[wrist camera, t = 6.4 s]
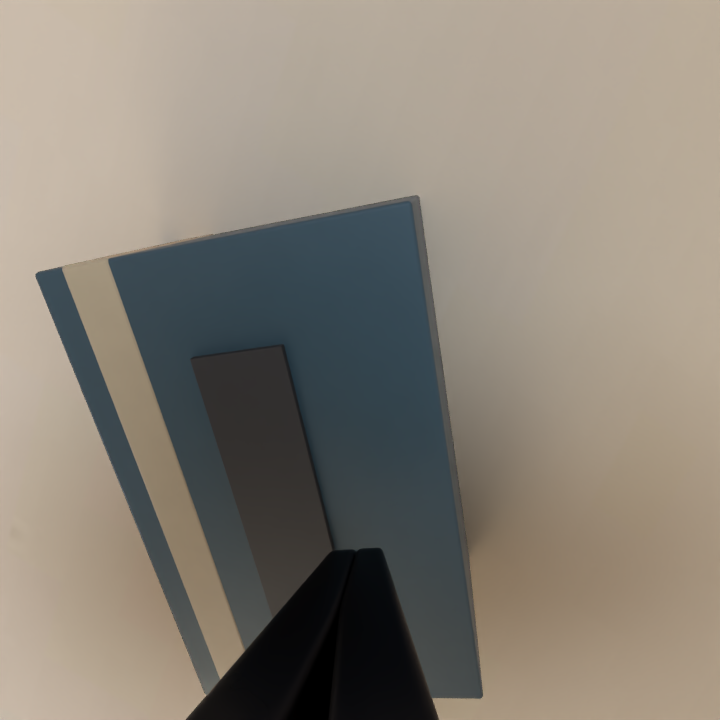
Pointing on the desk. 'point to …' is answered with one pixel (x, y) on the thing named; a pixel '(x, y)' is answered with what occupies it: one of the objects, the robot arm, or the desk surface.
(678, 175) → the desk surface
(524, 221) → the desk surface
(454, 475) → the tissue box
